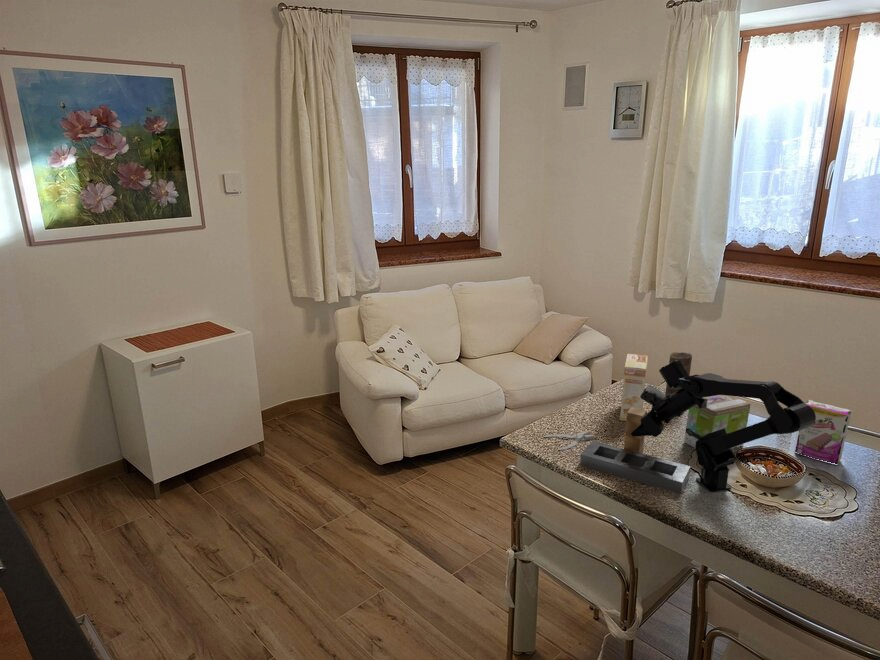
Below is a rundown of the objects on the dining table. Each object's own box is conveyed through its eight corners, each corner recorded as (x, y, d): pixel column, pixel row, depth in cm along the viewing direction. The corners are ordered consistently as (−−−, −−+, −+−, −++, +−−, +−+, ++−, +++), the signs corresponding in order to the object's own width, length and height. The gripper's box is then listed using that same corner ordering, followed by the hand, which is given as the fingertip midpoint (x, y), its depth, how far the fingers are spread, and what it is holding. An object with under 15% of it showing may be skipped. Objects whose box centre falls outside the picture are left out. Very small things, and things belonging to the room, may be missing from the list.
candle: (683, 412, 205) (689, 358, 199) (661, 408, 209) (667, 354, 203) (687, 405, 211) (694, 352, 206) (666, 400, 215) (672, 349, 209)
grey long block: (689, 477, 164) (690, 466, 163) (680, 494, 156) (682, 482, 155) (591, 451, 179) (592, 440, 178) (579, 465, 171) (580, 454, 170)
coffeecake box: (641, 423, 197) (646, 369, 192) (619, 420, 200) (623, 366, 194) (643, 406, 210) (648, 355, 205) (622, 403, 213) (627, 352, 207)
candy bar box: (794, 454, 176) (803, 404, 172) (798, 448, 180) (807, 398, 175) (837, 467, 169) (848, 414, 164) (841, 460, 173) (852, 409, 168)
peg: (642, 453, 178) (647, 410, 174) (638, 459, 174) (642, 416, 170) (627, 449, 180) (631, 407, 176) (623, 455, 176) (627, 412, 172)
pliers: (542, 433, 188) (583, 426, 192) (542, 438, 188) (582, 431, 193) (558, 447, 179) (600, 439, 183) (557, 452, 179) (600, 444, 184)
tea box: (708, 456, 175) (715, 411, 171) (683, 442, 184) (688, 398, 180) (744, 446, 181) (751, 402, 177) (717, 433, 190) (723, 390, 186)
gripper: (668, 370, 174) (627, 396, 183) (651, 390, 159) (608, 418, 168) (693, 400, 172) (651, 425, 181) (679, 423, 157) (634, 450, 166)
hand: (636, 429), depth 174 cm, fingers open, 9 cm apart
